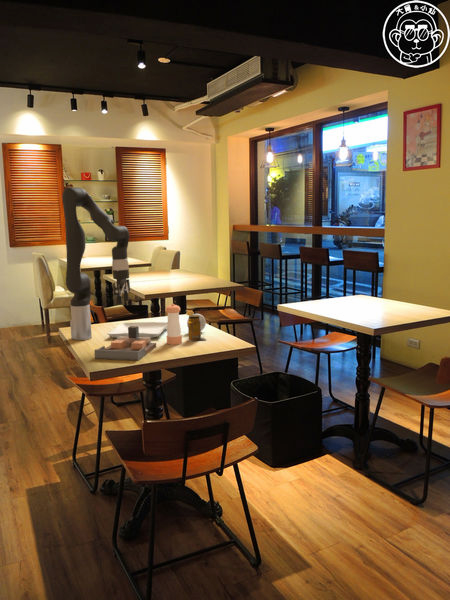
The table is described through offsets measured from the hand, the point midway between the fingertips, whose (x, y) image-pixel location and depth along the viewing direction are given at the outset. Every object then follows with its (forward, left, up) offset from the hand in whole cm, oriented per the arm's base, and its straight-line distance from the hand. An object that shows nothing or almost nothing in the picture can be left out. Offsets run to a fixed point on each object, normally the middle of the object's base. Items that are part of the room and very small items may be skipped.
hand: (122, 302), depth 250 cm
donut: (+28, +29, -21) cm, 45 cm away
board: (+7, -10, -20) cm, 24 cm away
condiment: (+32, +14, -21) cm, 40 cm away
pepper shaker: (+23, +6, -21) cm, 31 cm away
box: (+7, -22, -20) cm, 31 cm away
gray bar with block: (+7, -6, -18) cm, 21 cm away
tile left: (+2, -12, -18) cm, 22 cm away
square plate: (-1, +23, -21) cm, 31 cm away
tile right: (+12, -12, -18) cm, 25 cm away
